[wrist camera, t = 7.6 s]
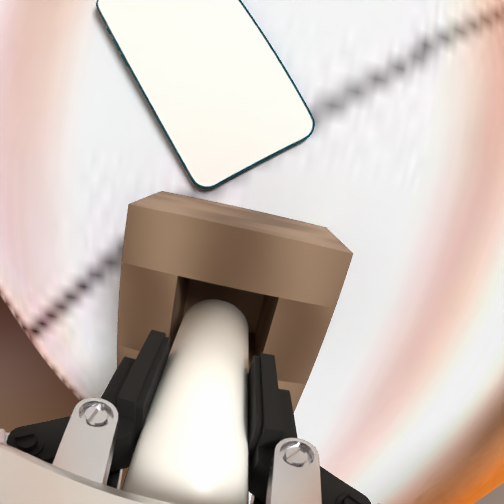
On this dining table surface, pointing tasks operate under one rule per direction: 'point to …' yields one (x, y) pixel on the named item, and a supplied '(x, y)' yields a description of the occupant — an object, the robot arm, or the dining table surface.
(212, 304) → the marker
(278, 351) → the socket block
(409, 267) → the dining table surface
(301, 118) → the smartphone
